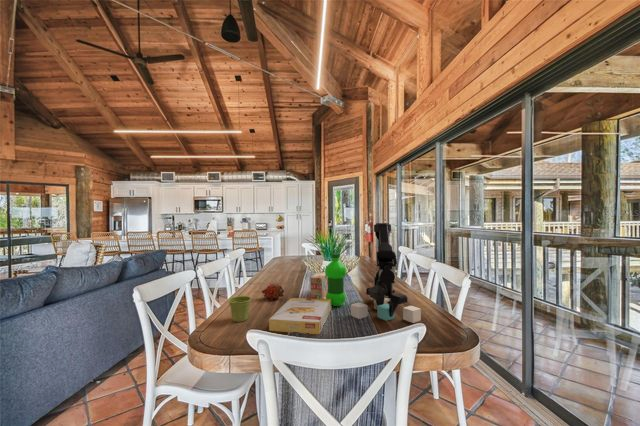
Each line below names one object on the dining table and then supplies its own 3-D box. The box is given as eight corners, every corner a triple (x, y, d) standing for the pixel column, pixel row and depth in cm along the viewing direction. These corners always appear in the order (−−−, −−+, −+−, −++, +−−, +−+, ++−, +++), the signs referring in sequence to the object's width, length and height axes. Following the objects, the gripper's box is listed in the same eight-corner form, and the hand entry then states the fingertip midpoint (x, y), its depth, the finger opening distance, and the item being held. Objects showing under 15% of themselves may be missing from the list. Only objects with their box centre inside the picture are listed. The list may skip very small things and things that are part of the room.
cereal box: (331, 298, 133) (320, 320, 105) (331, 310, 133) (320, 335, 105) (289, 297, 136) (268, 318, 109) (289, 308, 136) (268, 332, 109)
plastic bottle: (331, 300, 146) (331, 252, 146) (350, 303, 141) (349, 253, 141) (321, 306, 138) (321, 254, 138) (340, 309, 132) (340, 255, 132)
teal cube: (377, 317, 122) (377, 305, 122) (385, 315, 125) (385, 303, 125) (386, 321, 118) (386, 309, 118) (394, 318, 121) (394, 306, 121)
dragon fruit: (285, 302, 148) (263, 305, 149) (286, 289, 155) (265, 292, 156) (281, 292, 144) (258, 295, 145) (282, 279, 151) (260, 282, 152)
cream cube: (403, 319, 120) (403, 307, 120) (410, 317, 123) (410, 305, 123) (413, 323, 116) (413, 311, 116) (420, 320, 118) (420, 308, 118)
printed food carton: (321, 290, 168) (321, 269, 168) (331, 290, 166) (331, 269, 166) (310, 300, 147) (310, 276, 147) (322, 301, 145) (321, 277, 145)
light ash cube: (374, 308, 134) (374, 298, 134) (381, 306, 137) (381, 296, 137) (381, 311, 130) (381, 300, 130) (389, 309, 132) (389, 298, 132)
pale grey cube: (351, 315, 125) (351, 304, 125) (359, 313, 127) (359, 302, 127) (358, 319, 120) (358, 307, 120) (367, 316, 123) (367, 305, 123)
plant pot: (230, 325, 114) (230, 303, 114) (226, 318, 123) (226, 297, 123) (253, 321, 118) (253, 300, 119) (248, 314, 127) (248, 294, 127)
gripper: (356, 276, 125) (357, 312, 125) (389, 285, 110) (389, 326, 110) (375, 273, 131) (375, 307, 131) (408, 281, 116) (408, 319, 116)
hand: (385, 314), depth 122 cm, fingers open, 5 cm apart
